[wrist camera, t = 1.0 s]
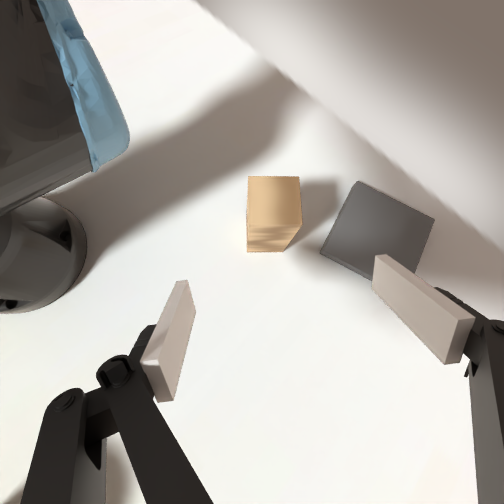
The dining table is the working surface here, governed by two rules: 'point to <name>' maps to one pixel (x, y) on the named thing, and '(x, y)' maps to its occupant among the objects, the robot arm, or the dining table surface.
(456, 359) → the robot arm
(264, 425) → the dining table surface
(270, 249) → the oak block
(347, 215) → the coaster mat
